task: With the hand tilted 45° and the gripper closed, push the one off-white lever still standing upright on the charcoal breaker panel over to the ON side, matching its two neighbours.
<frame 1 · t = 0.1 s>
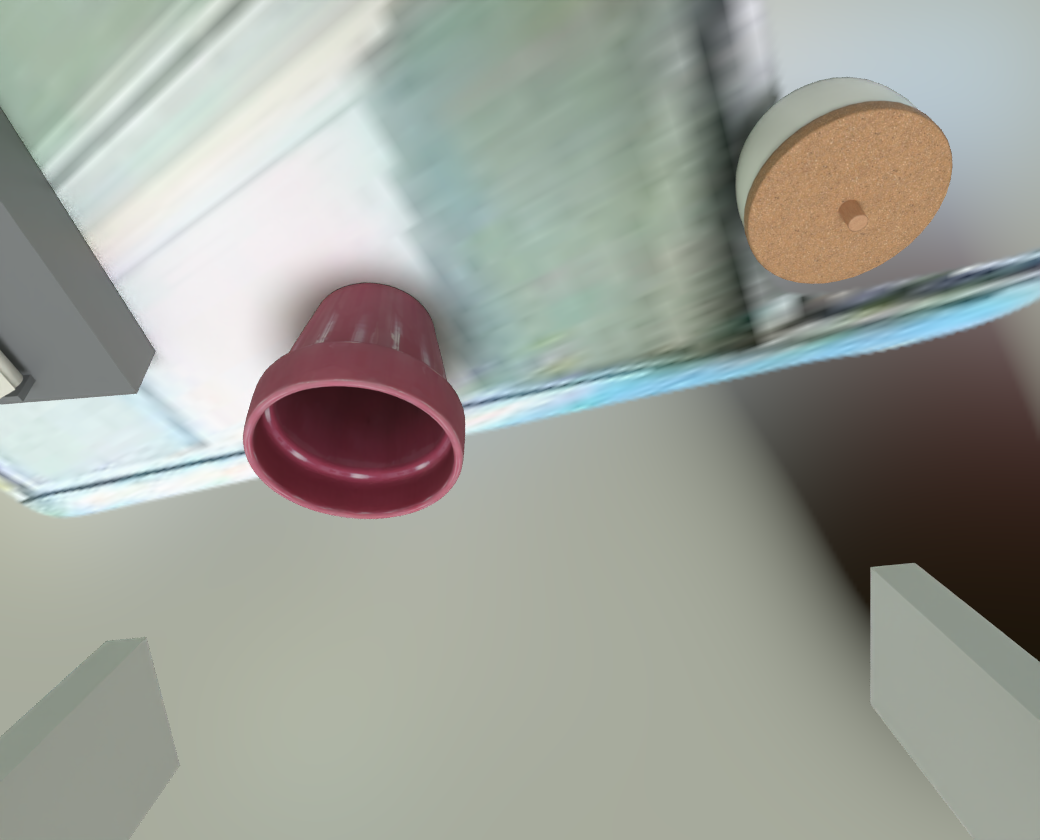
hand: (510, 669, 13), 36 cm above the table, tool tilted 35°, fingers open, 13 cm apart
lidded jar: (802, 136, 43), on the table
plant pot: (374, 327, 53), on the table
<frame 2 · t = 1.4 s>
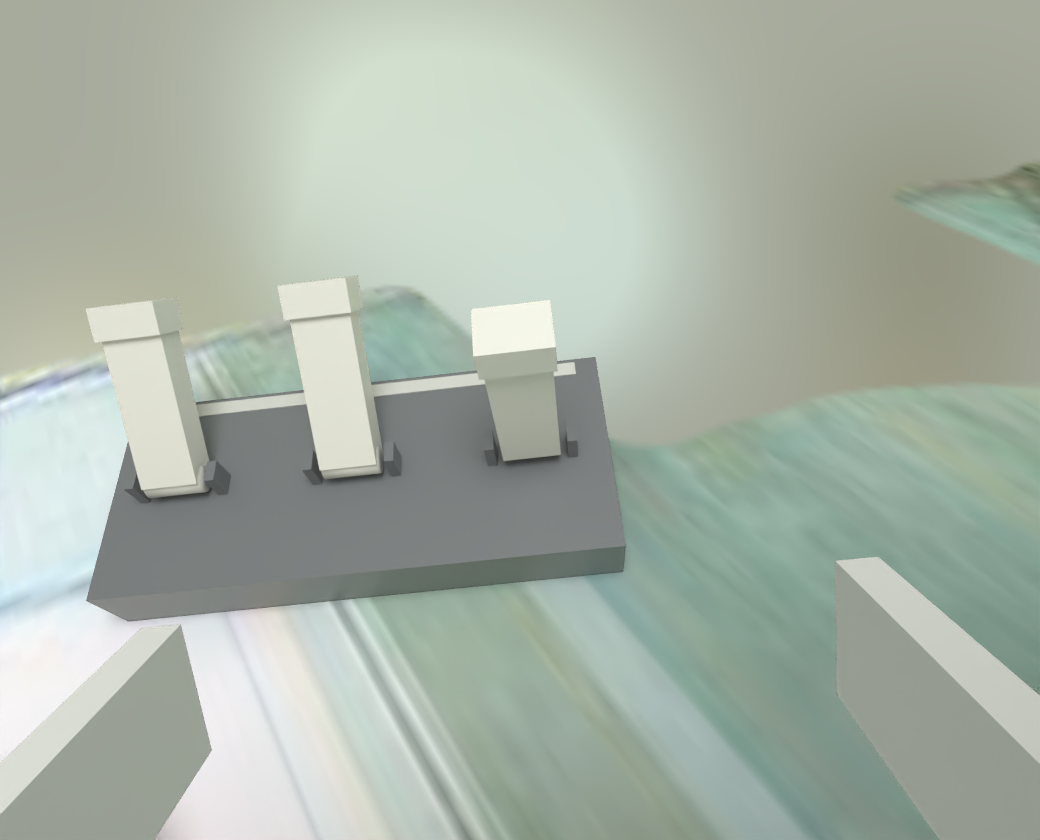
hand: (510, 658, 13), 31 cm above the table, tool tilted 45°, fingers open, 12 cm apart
breaker panel: (376, 500, 49), on the table
tripped lever: (523, 396, 39), point 11 cm above the table, hinge at 0.0°
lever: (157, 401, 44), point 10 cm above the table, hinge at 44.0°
middle lever: (337, 381, 43), point 10 cm above the table, hinge at 44.0°
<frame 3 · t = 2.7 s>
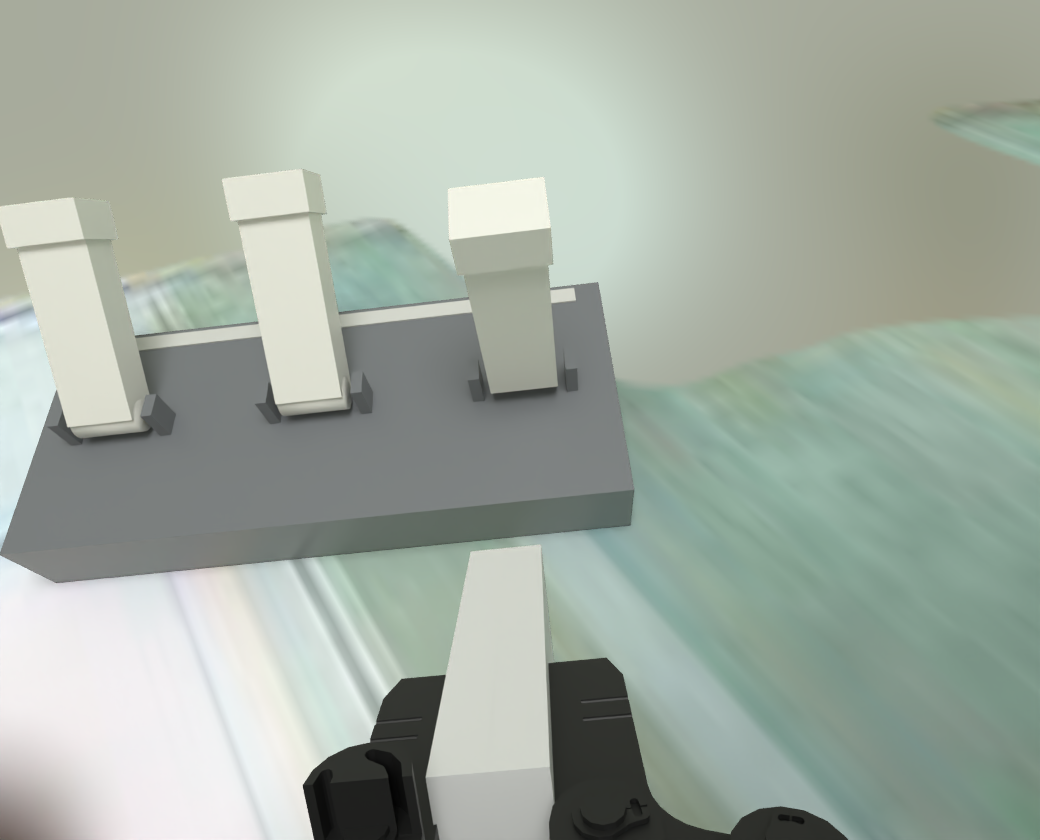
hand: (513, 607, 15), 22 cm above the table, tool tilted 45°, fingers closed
breaker panel: (346, 447, 43), on the table
tripped lever: (513, 309, 33), point 11 cm above the table, hinge at 0.0°
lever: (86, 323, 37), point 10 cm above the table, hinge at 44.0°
middle lever: (296, 299, 37), point 10 cm above the table, hinge at 44.0°
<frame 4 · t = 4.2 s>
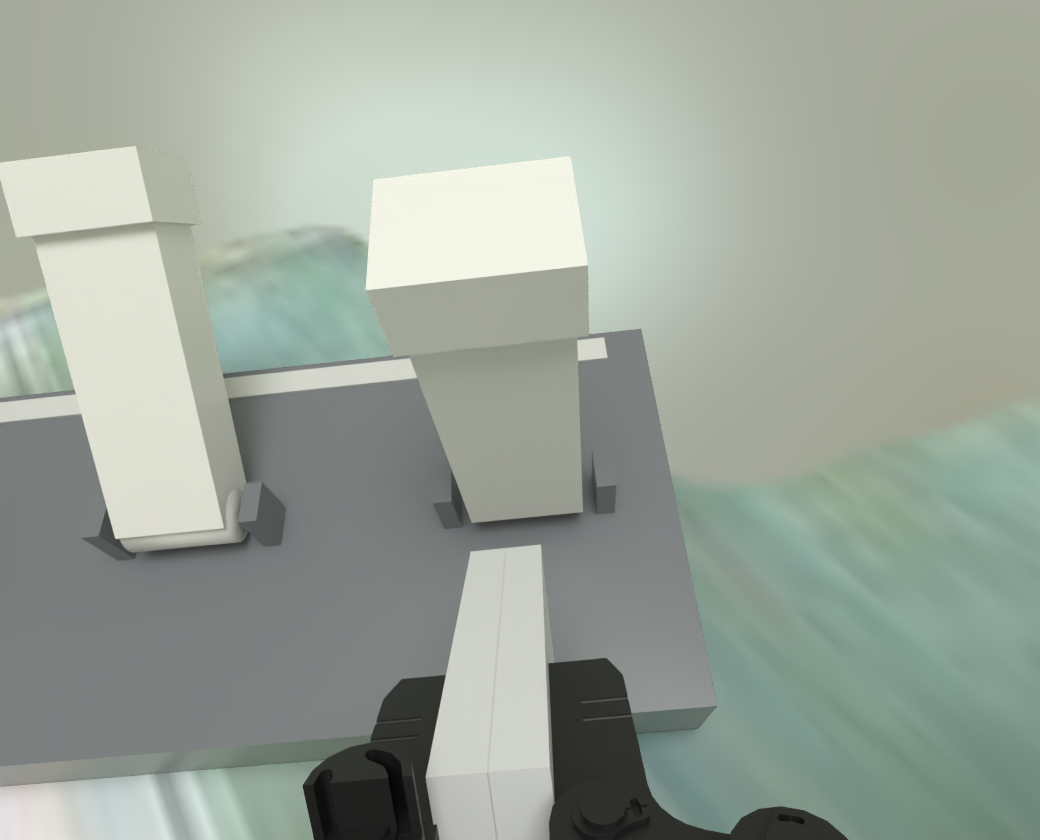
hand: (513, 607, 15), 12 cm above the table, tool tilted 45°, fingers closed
breaker panel: (255, 576, 28), on the table
tripped lever: (507, 398, 18), point 11 cm above the table, hinge at 0.0°
middle lever: (148, 366, 22), point 10 cm above the table, hinge at 44.0°
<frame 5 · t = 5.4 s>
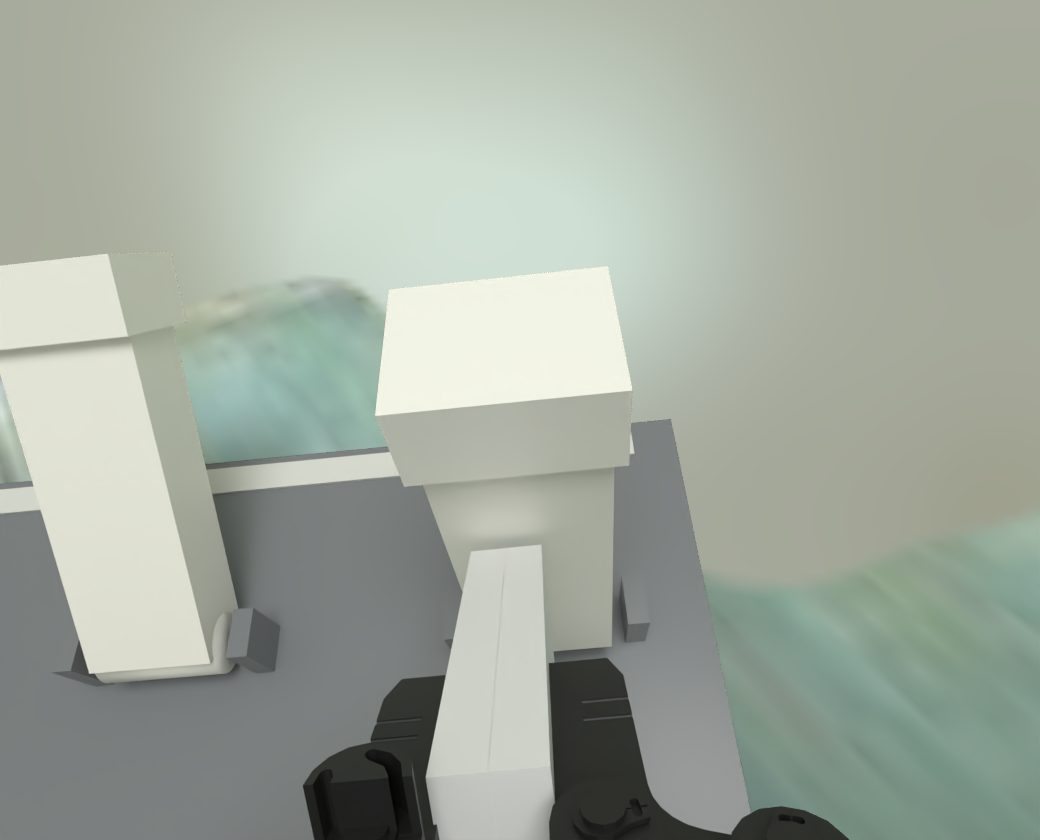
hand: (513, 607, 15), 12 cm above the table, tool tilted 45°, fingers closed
breaker panel: (248, 683, 26), on the table
tripped lever: (531, 523, 16), point 11 cm above the table, hinge at 7.7°, touching gripper
middle lever: (126, 482, 20), point 10 cm above the table, hinge at 44.0°
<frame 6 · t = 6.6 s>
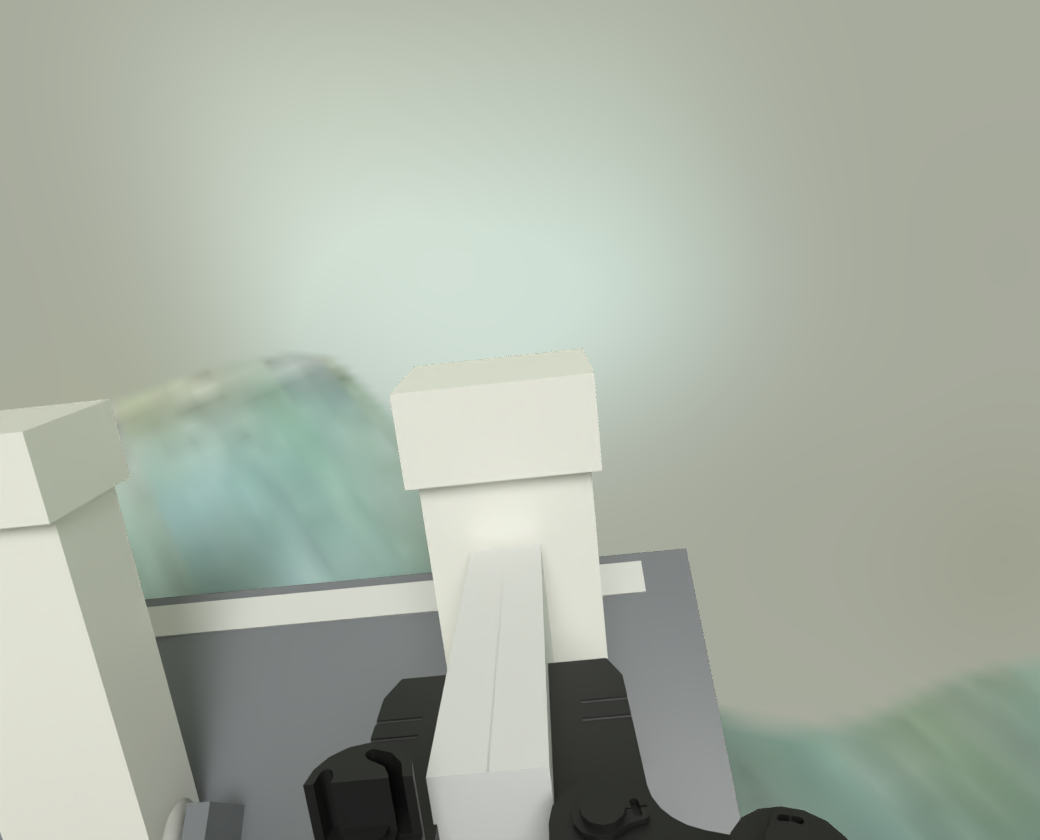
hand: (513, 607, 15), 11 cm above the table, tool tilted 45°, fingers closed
tripped lever: (525, 624, 16), point 10 cm above the table, hinge at 43.5°, touching gripper
middle lever: (59, 666, 17), point 10 cm above the table, hinge at 44.0°
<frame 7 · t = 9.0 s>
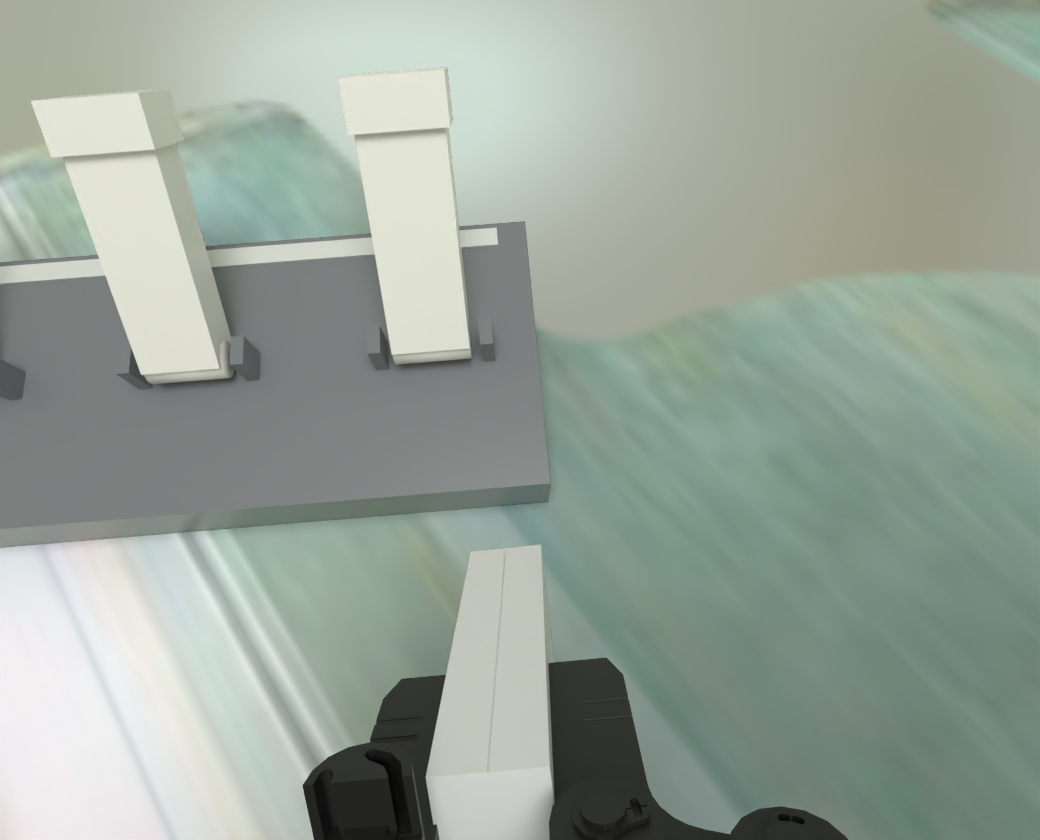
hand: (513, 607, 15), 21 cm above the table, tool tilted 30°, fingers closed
breaker panel: (237, 401, 38), on the table
tripped lever: (416, 230, 30), point 10 cm above the table, hinge at 43.7°
middle lever: (153, 250, 30), point 10 cm above the table, hinge at 44.0°
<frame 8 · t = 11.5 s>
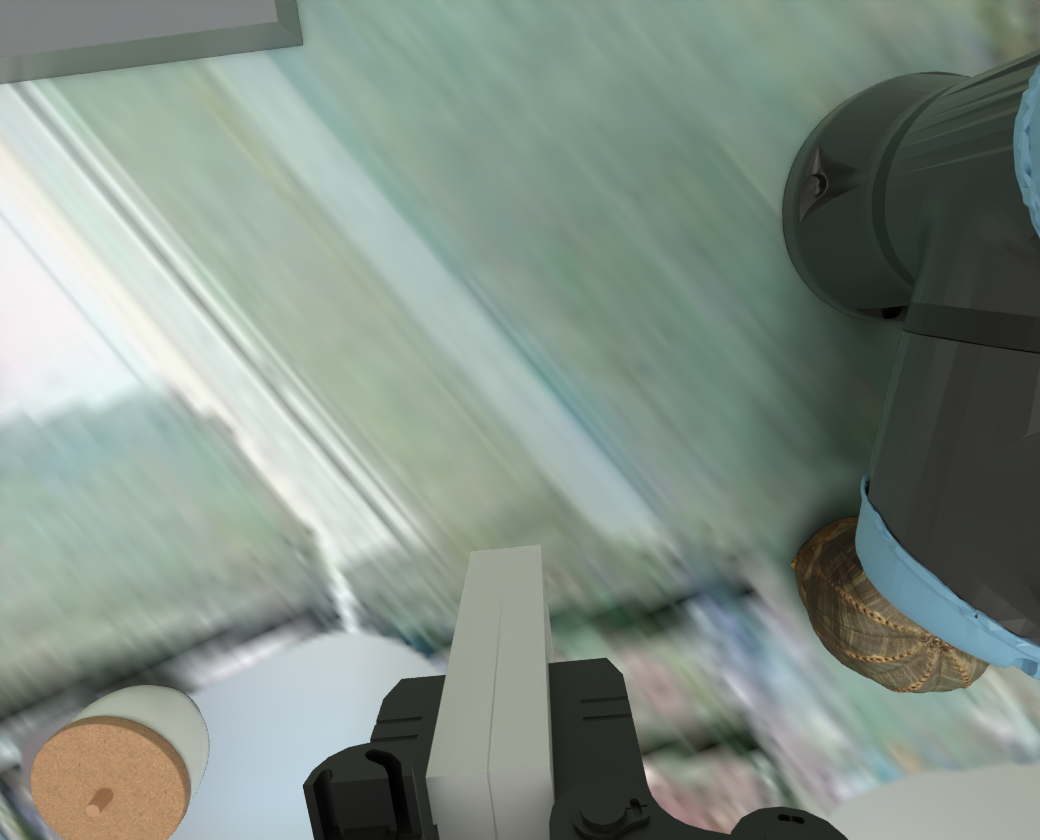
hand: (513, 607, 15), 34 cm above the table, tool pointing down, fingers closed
lidded jar: (165, 717, 55), on the table
shell: (851, 556, 52), on the table
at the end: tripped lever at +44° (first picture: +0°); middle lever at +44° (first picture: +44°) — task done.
